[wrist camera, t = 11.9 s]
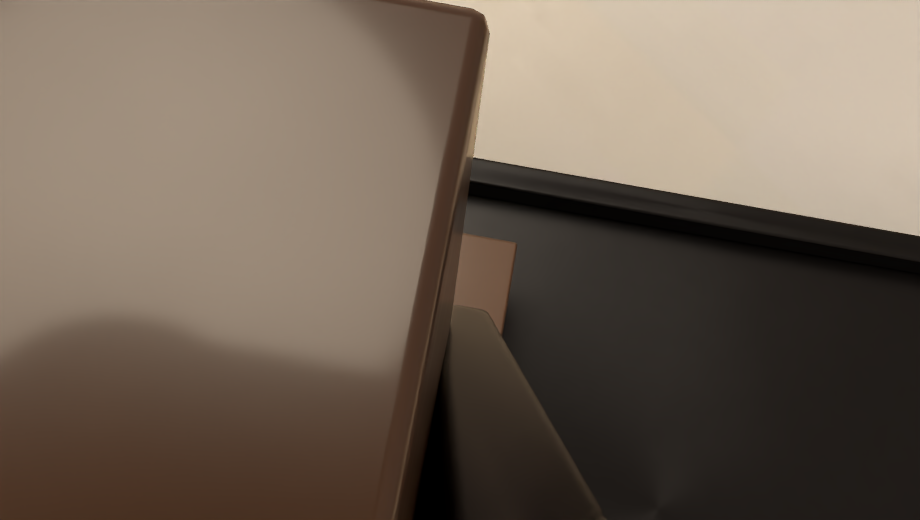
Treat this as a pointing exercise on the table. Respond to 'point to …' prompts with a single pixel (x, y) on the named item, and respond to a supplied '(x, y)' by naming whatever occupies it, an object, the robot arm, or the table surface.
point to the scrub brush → (233, 253)
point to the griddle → (712, 348)
